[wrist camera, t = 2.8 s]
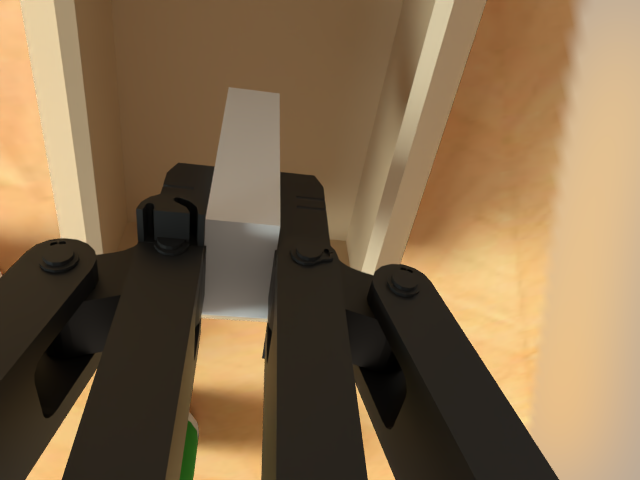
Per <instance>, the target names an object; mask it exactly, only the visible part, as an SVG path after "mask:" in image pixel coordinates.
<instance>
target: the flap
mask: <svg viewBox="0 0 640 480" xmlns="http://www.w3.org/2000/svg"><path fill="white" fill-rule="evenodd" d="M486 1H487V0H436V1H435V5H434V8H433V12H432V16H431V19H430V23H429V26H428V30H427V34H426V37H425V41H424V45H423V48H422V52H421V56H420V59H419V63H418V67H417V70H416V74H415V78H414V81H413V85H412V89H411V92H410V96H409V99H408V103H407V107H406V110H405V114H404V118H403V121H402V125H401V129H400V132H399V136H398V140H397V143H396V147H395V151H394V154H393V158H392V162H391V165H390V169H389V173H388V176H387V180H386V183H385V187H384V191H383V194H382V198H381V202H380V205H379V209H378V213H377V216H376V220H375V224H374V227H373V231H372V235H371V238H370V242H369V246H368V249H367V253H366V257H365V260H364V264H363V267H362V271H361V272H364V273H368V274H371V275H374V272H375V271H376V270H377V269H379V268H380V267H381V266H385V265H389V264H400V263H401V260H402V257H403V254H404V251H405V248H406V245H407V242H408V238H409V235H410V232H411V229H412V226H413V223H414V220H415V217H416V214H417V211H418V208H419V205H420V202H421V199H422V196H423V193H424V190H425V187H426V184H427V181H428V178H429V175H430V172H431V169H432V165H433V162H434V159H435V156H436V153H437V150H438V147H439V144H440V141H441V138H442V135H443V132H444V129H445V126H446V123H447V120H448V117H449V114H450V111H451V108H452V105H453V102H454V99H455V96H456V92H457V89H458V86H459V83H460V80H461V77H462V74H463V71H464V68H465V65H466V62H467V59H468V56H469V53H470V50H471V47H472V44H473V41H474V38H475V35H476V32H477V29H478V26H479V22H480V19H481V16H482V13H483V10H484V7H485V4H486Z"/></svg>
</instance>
